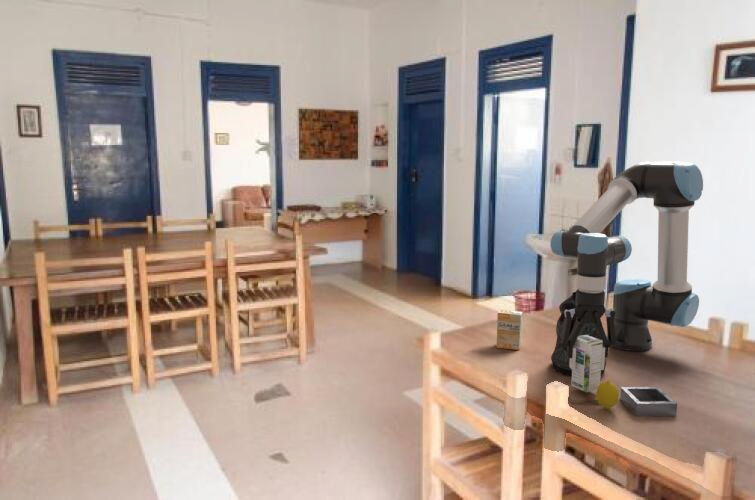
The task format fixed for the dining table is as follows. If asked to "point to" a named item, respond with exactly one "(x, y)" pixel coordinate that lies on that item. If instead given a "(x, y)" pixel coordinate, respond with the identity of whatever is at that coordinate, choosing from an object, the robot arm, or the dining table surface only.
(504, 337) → the supplement box
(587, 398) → the walnut board
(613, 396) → the lemon
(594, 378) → the syrup box
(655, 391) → the metal collar
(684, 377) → the dining table surface
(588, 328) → the beer stein
